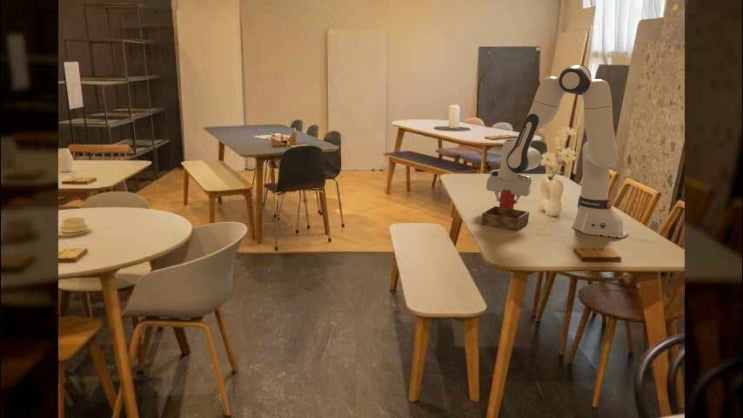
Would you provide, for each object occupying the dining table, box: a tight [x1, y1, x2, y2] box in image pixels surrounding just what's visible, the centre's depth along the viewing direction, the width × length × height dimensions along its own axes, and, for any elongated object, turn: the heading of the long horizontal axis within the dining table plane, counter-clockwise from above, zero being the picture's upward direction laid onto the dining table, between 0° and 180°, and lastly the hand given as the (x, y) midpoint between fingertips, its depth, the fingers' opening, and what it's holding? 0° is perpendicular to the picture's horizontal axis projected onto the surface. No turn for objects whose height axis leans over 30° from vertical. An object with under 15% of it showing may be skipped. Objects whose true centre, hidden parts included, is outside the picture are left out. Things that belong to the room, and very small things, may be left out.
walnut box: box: [481, 205, 530, 232], centre depth 252 cm, size 16×16×5 cm
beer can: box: [498, 190, 516, 209], centre depth 267 cm, size 7×7×12 cm
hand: (506, 202), depth 267 cm, fingers closed on beer can, 7 cm apart
